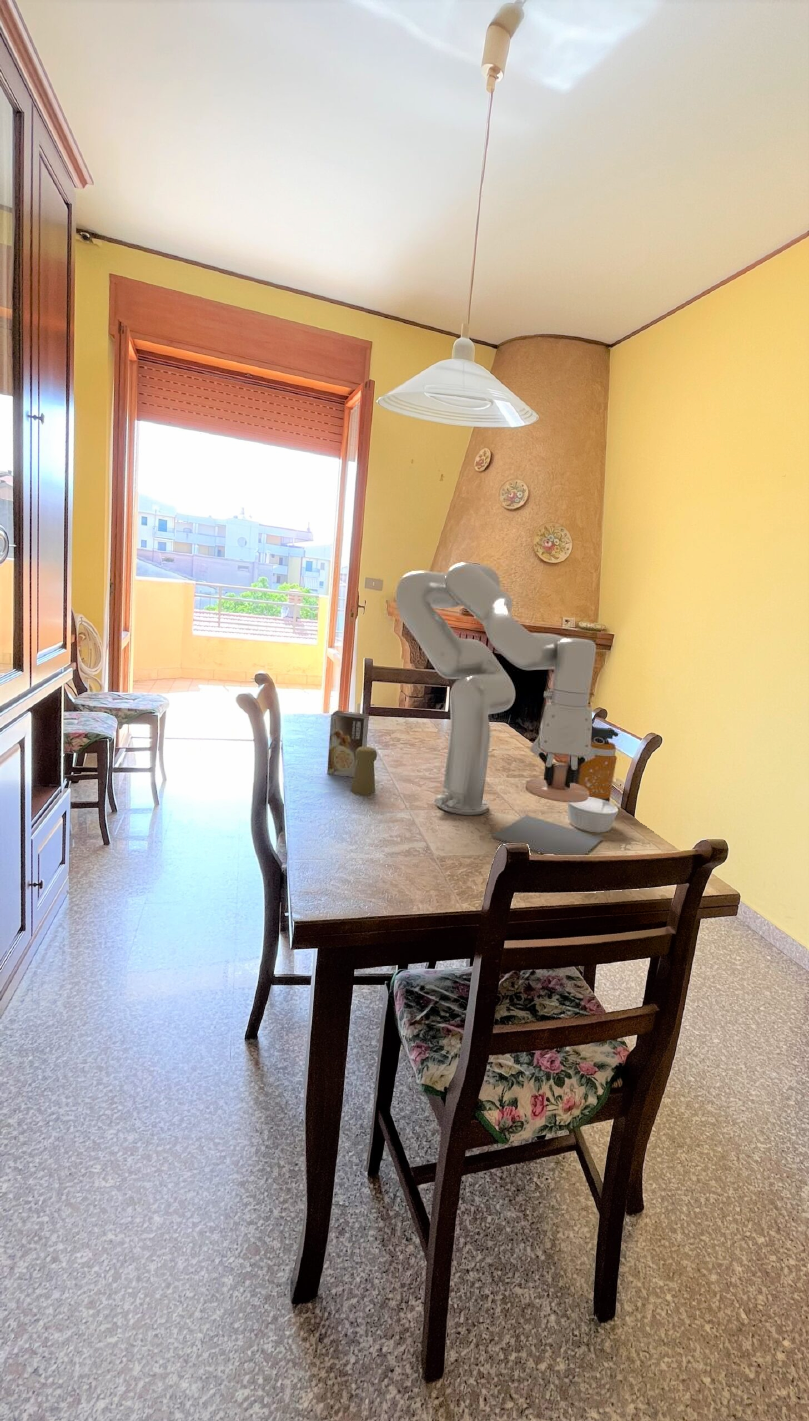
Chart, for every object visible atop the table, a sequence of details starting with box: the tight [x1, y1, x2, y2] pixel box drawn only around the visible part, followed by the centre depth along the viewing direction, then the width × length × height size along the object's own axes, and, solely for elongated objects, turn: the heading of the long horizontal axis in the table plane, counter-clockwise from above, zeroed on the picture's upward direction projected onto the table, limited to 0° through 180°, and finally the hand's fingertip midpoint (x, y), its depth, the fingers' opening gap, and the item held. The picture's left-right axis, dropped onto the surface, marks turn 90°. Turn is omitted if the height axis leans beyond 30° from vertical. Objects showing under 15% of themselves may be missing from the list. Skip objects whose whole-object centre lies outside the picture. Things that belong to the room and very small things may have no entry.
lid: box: [525, 761, 589, 803], centre depth 131 cm, size 13×13×6 cm
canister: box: [573, 725, 619, 802], centre depth 161 cm, size 9×11×20 cm
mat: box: [491, 814, 604, 856], centre depth 134 cm, size 18×18×1 cm
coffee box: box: [326, 710, 370, 778], centre depth 164 cm, size 9×6×16 cm
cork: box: [350, 746, 378, 796], centre depth 152 cm, size 6×6×11 cm
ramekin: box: [566, 797, 619, 834], centre depth 145 cm, size 11×11×5 cm
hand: (557, 784), depth 132 cm, fingers closed on lid, 3 cm apart
